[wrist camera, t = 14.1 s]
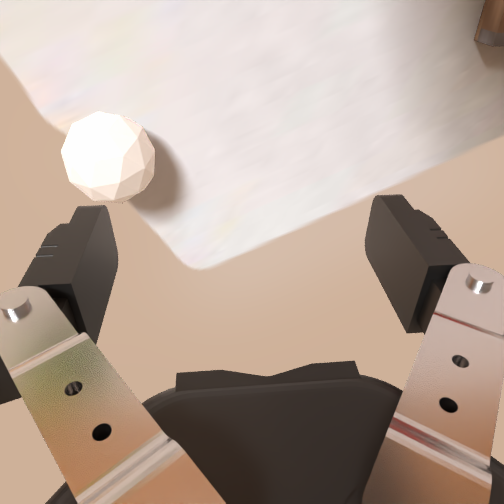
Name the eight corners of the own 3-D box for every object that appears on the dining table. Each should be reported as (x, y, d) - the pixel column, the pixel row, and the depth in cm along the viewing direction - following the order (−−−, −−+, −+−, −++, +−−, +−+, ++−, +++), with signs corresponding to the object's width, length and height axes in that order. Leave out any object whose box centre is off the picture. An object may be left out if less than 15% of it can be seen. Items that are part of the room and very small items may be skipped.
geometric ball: (101, 135, 41) (27, 144, 35) (150, 93, 37) (75, 94, 30) (136, 204, 42) (69, 225, 36) (188, 172, 38) (122, 189, 31)
